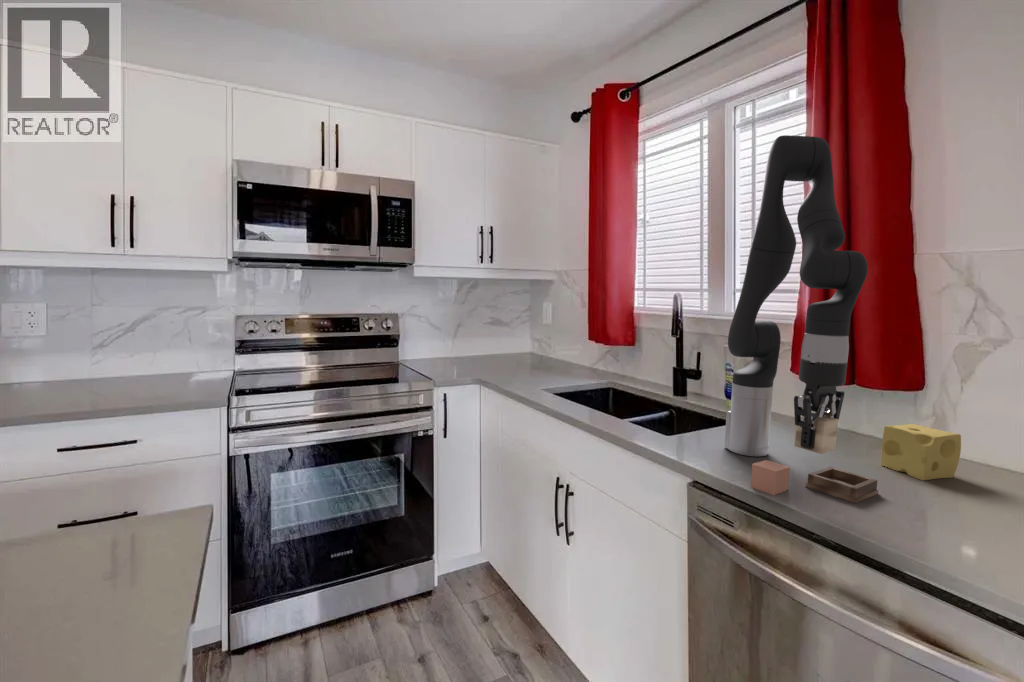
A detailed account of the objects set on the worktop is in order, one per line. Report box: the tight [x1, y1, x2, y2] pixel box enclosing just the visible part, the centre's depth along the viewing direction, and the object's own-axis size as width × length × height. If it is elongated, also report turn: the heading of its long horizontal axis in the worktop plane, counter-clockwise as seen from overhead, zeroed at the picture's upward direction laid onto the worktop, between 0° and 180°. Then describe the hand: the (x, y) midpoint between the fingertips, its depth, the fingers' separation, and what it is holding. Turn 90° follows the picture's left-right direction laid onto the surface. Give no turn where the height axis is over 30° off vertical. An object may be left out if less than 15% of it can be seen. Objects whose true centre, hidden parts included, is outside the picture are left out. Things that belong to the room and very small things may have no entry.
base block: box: [794, 416, 839, 455], centre depth 97 cm, size 5×5×6 cm
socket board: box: [805, 466, 879, 504], centre depth 104 cm, size 10×10×3 cm
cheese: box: [880, 423, 962, 481], centre depth 117 cm, size 10×11×10 cm
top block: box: [750, 459, 791, 496], centre depth 104 cm, size 5×5×5 cm
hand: (814, 445), depth 97 cm, fingers closed on base block, 5 cm apart
